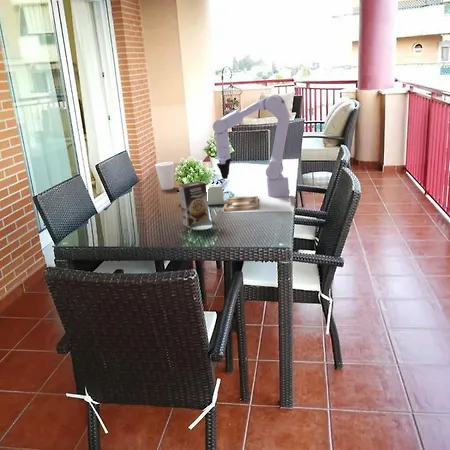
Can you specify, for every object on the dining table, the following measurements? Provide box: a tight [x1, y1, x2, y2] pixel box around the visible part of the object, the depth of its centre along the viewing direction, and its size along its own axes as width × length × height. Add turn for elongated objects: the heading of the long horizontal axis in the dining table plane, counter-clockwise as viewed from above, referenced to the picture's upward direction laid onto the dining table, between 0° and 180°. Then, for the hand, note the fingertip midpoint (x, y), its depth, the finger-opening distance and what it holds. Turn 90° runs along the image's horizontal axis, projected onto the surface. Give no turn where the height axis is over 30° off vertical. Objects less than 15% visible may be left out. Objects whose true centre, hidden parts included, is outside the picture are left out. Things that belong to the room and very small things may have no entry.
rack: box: [222, 195, 259, 212], centre depth 203 cm, size 14×16×2 cm
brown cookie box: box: [178, 181, 210, 229], centre depth 186 cm, size 9×6×16 cm
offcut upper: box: [232, 201, 251, 207], centre depth 198 cm, size 7×4×2 cm, turn 91°
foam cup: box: [154, 161, 175, 191], centre depth 250 cm, size 10×9×13 cm
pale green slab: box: [208, 185, 225, 206], centre depth 208 cm, size 8×2×9 cm, turn 86°
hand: (225, 176), depth 216 cm, fingers open, 7 cm apart
